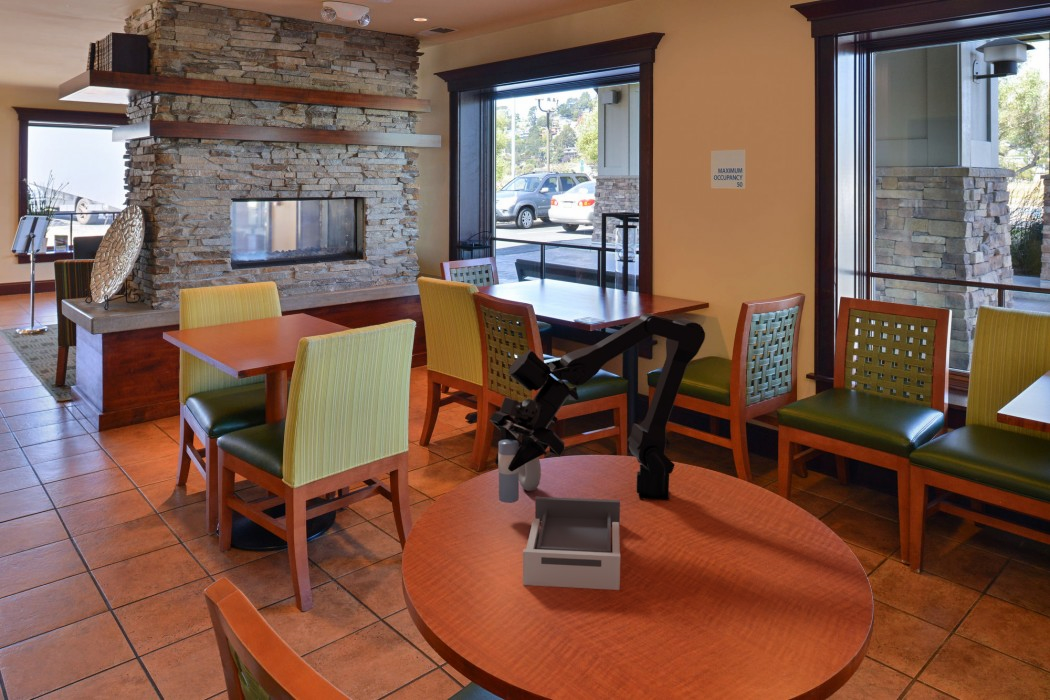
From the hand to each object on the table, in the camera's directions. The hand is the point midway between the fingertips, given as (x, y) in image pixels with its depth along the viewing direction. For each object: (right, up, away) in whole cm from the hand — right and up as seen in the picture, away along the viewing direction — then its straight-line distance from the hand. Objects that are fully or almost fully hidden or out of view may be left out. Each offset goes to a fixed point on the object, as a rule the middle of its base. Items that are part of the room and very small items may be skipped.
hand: (503, 467), depth 158 cm
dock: (+13, -14, -16) cm, 25 cm away
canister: (+1, -7, +2) cm, 7 cm away
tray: (+14, -13, -9) cm, 21 cm away
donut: (+5, -8, +18) cm, 20 cm away
